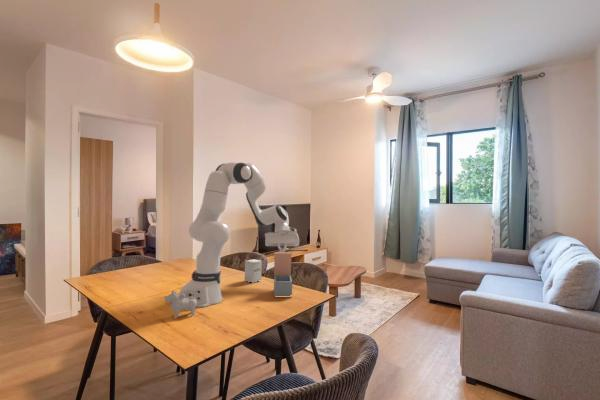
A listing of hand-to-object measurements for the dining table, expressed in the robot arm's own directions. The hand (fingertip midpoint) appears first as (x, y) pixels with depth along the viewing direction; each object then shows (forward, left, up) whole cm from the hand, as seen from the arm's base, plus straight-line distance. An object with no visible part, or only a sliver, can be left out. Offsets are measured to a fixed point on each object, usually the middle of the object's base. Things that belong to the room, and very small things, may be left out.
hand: (282, 251), depth 173 cm
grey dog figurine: (-44, -42, -21) cm, 64 cm away
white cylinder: (-17, +11, -20) cm, 29 cm away
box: (0, -13, -20) cm, 24 cm away
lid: (0, -8, -6) cm, 10 cm away
